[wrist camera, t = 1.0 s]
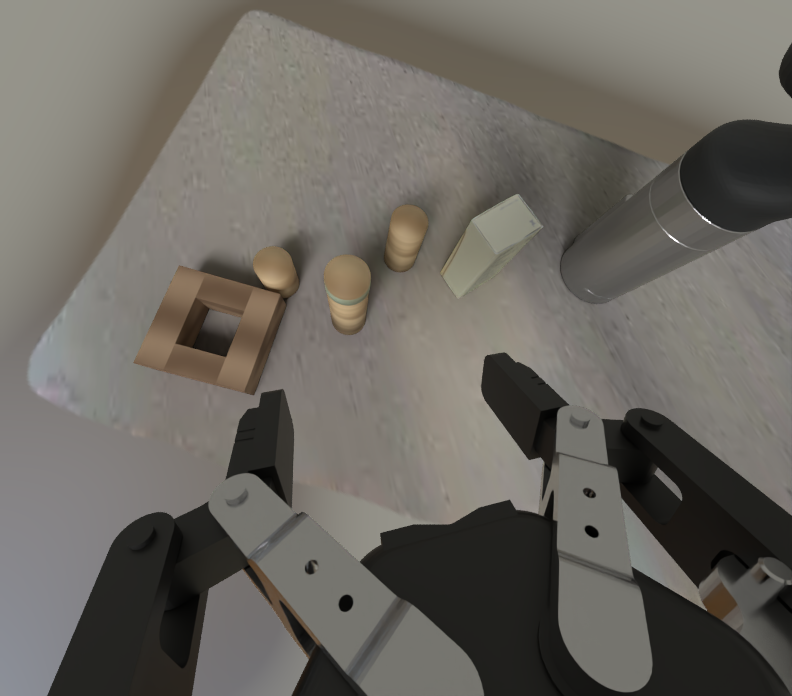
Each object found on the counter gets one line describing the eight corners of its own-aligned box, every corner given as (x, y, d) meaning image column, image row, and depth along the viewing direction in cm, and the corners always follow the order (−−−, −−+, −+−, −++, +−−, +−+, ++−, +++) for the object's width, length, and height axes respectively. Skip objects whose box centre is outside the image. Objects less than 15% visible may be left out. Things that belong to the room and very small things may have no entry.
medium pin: (388, 240, 43) (396, 199, 36) (417, 249, 44) (431, 211, 36) (380, 267, 42) (386, 231, 35) (410, 276, 43) (423, 242, 35)
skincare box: (475, 252, 45) (519, 190, 33) (494, 279, 44) (546, 225, 32) (437, 274, 43) (469, 217, 31) (457, 301, 43) (497, 254, 31)
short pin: (271, 263, 41) (260, 241, 36) (303, 273, 41) (297, 252, 36) (260, 293, 40) (247, 274, 35) (293, 302, 40) (285, 285, 35)
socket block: (194, 279, 39) (179, 265, 36) (286, 305, 40) (280, 294, 36) (153, 368, 36) (133, 363, 33) (253, 395, 37) (243, 392, 34)
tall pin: (337, 299, 41) (331, 248, 29) (369, 308, 41) (376, 261, 29) (327, 330, 40) (317, 290, 28) (360, 339, 40) (364, 303, 28)
